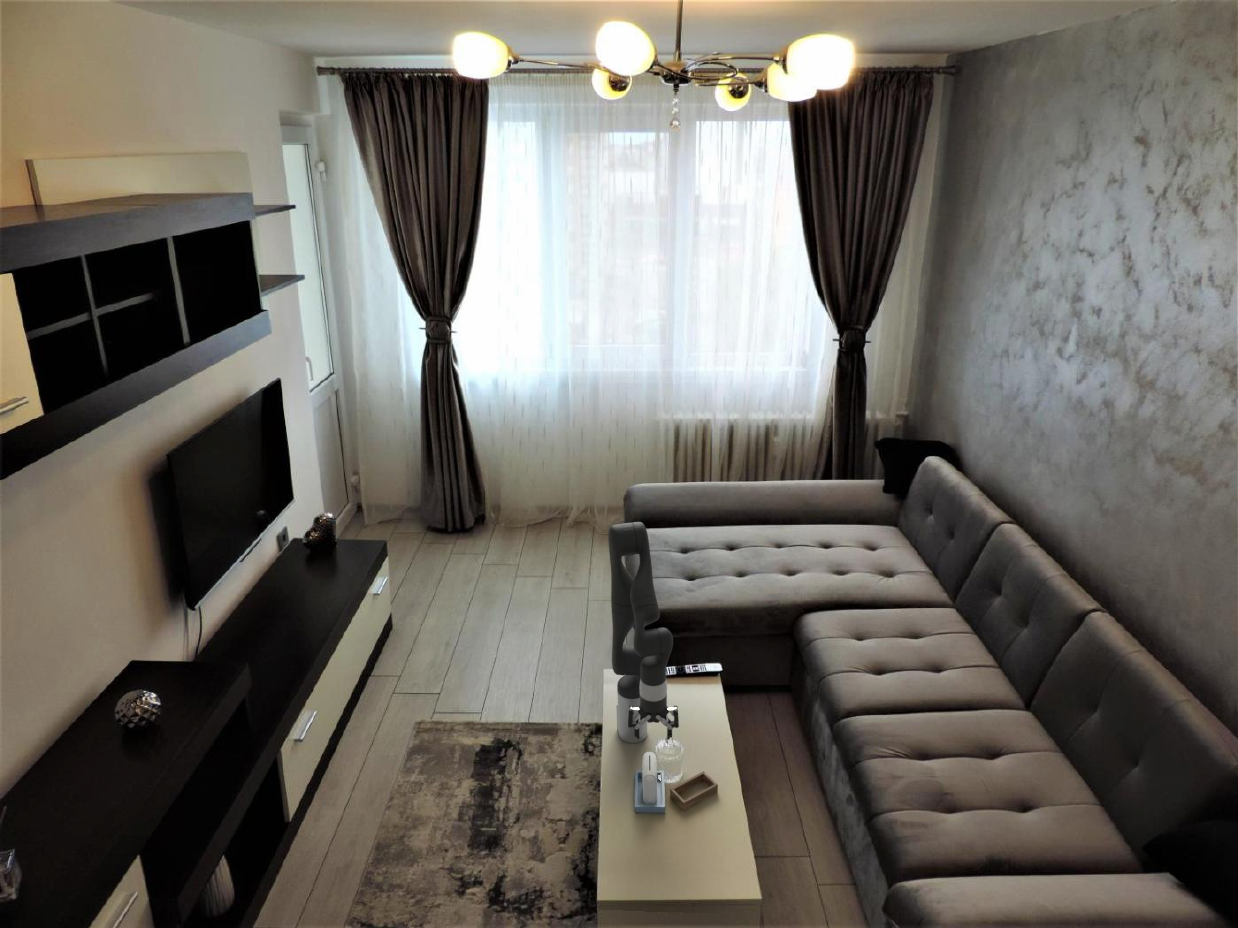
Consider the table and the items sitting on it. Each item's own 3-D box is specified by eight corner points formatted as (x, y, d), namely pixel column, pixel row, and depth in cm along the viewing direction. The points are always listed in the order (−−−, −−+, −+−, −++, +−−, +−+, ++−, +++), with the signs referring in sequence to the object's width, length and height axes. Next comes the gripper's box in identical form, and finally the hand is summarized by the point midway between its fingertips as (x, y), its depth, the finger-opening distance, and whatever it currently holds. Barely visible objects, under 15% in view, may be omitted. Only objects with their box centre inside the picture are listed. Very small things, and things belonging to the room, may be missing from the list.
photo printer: (642, 780, 258) (642, 747, 253) (656, 780, 258) (656, 747, 253) (642, 806, 249) (642, 773, 244) (657, 806, 249) (657, 773, 244)
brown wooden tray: (670, 796, 253) (670, 788, 252) (703, 778, 259) (703, 770, 258) (683, 810, 248) (684, 803, 247) (717, 792, 254) (717, 784, 253)
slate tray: (635, 776, 260) (635, 770, 259) (663, 776, 260) (663, 770, 259) (634, 813, 247) (634, 806, 246) (665, 813, 247) (665, 806, 246)
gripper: (627, 700, 236) (627, 746, 243) (679, 700, 236) (679, 746, 242) (627, 682, 243) (628, 727, 250) (678, 682, 243) (678, 728, 249)
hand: (653, 737), depth 246 cm, fingers open, 8 cm apart
